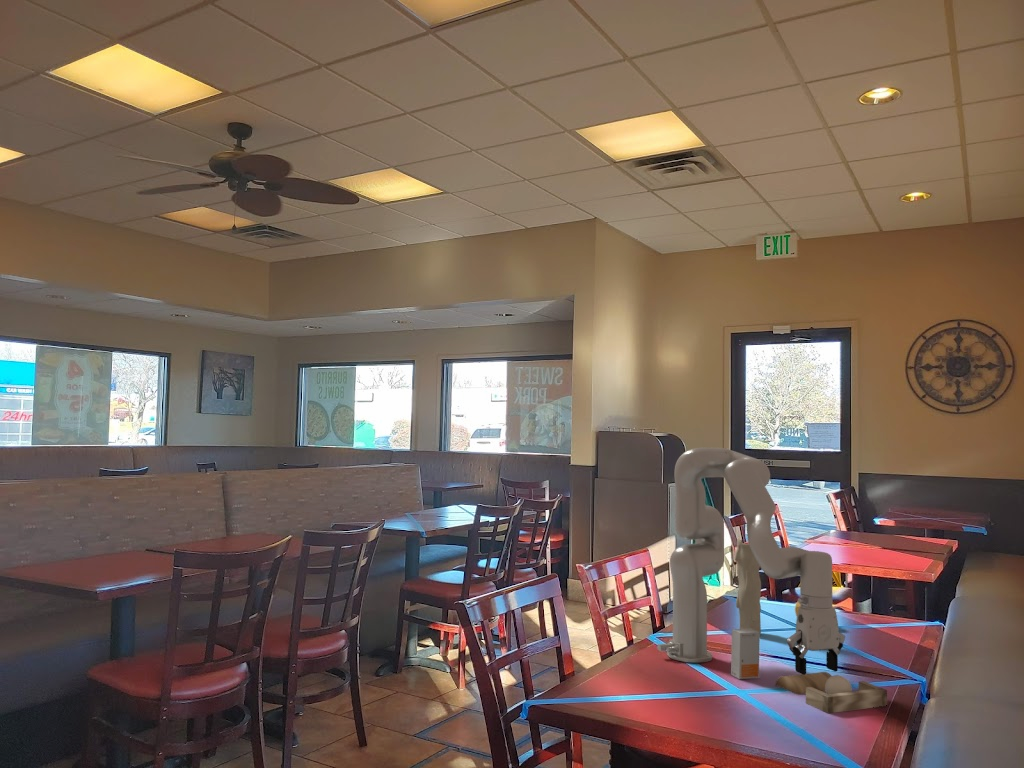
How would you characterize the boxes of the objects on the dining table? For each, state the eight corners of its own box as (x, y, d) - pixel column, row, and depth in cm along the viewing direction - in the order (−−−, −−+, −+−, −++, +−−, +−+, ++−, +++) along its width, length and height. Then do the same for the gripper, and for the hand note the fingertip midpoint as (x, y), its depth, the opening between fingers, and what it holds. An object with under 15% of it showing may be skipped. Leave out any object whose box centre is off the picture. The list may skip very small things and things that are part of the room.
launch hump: (796, 715, 190) (796, 681, 191) (775, 704, 198) (775, 672, 198) (838, 709, 195) (838, 677, 195) (816, 699, 202) (816, 668, 203)
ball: (818, 674, 189) (820, 700, 188) (836, 678, 183) (838, 705, 182) (838, 672, 191) (840, 698, 190) (856, 676, 185) (859, 702, 184)
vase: (732, 634, 248) (732, 539, 250) (738, 629, 256) (739, 536, 258) (759, 638, 244) (759, 541, 246) (765, 632, 251) (765, 539, 253)
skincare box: (739, 680, 201) (739, 632, 202) (730, 675, 205) (730, 628, 206) (760, 678, 203) (760, 631, 204) (750, 673, 207) (751, 627, 208)
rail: (827, 713, 178) (827, 697, 178) (805, 702, 184) (805, 687, 185) (887, 705, 184) (887, 690, 184) (863, 696, 191) (863, 681, 191)
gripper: (798, 606, 188) (798, 679, 187) (854, 603, 194) (855, 673, 193) (778, 600, 195) (778, 670, 194) (832, 597, 201) (833, 664, 200)
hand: (816, 671), depth 194 cm, fingers open, 9 cm apart
